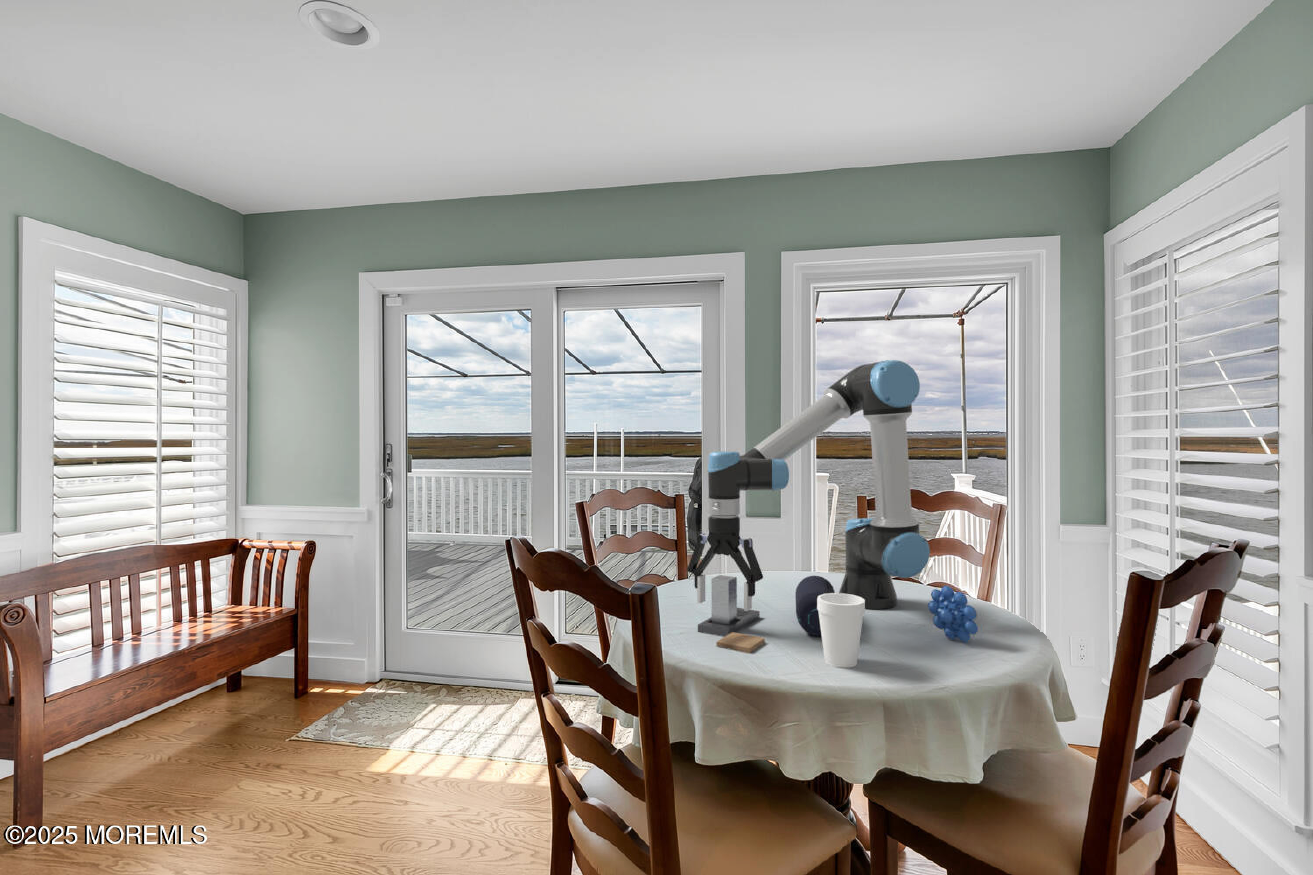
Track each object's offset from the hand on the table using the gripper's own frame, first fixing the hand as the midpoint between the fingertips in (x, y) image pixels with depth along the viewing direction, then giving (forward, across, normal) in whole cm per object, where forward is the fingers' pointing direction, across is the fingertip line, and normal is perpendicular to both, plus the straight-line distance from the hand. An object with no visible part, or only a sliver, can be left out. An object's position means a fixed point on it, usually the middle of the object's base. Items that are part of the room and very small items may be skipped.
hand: (724, 605), depth 157 cm
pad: (+5, +8, -9) cm, 13 cm away
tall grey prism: (+5, 0, 0) cm, 5 cm away
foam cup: (+5, +30, -8) cm, 32 cm away
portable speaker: (+6, +18, +15) cm, 24 cm away
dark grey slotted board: (+5, 0, +3) cm, 6 cm away
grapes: (+5, +48, +18) cm, 51 cm away
